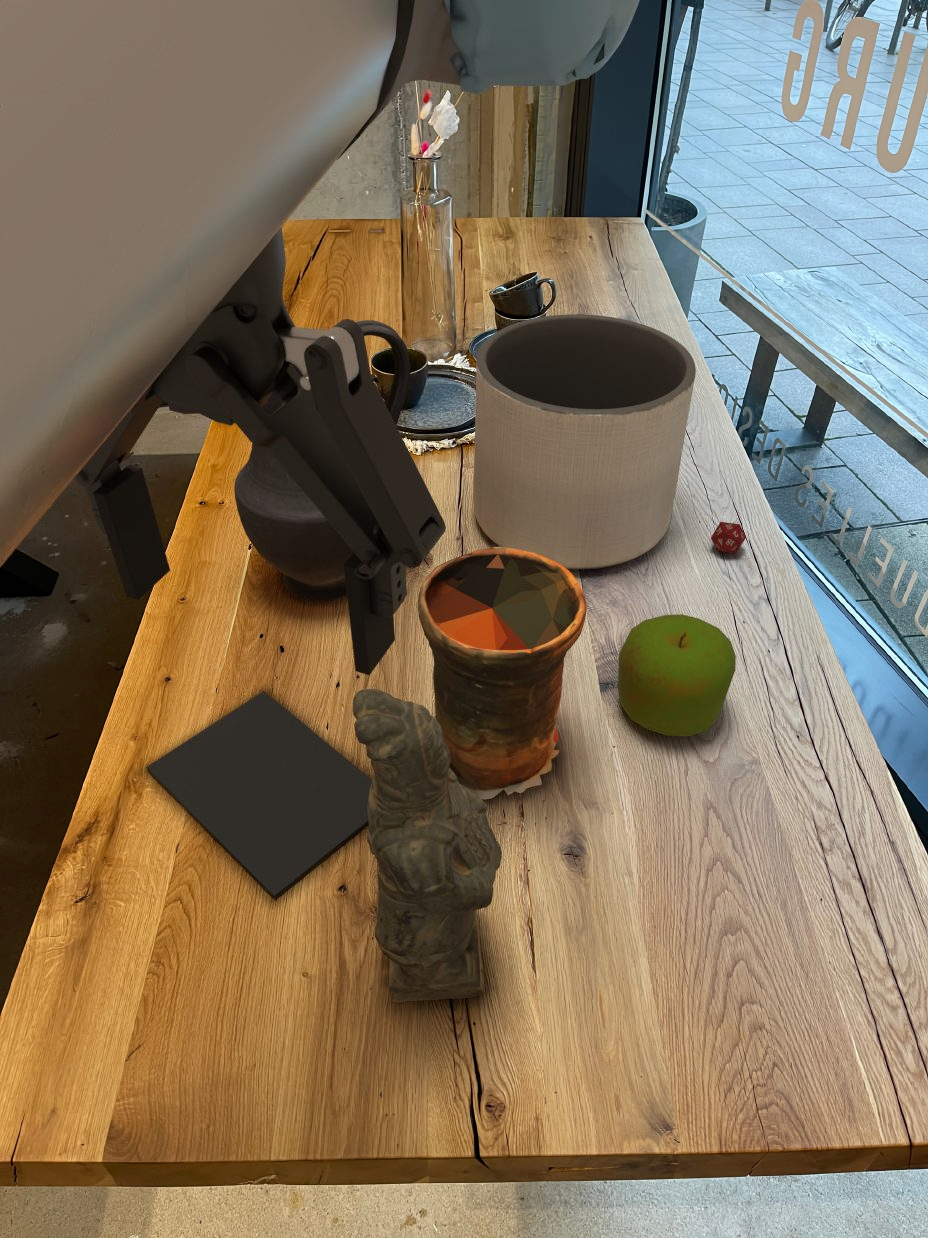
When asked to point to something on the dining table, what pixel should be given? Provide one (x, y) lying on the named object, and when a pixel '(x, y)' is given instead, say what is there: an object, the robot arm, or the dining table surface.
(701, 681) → the apple
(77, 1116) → the dining table surface
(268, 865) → the mat
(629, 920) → the dining table surface
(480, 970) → the statue
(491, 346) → the planter
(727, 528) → the dice
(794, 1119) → the dining table surface
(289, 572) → the pitcher
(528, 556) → the vessel
